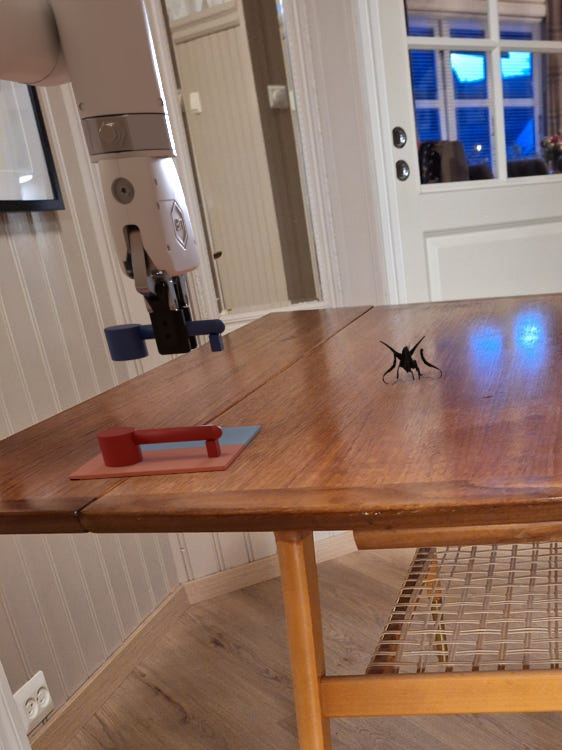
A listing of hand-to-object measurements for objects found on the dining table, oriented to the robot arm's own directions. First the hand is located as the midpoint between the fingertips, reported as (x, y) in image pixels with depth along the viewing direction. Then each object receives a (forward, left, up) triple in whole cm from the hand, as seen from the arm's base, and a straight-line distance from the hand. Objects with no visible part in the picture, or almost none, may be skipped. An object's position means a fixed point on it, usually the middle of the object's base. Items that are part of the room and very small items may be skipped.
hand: (178, 350), depth 87 cm
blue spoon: (-1, 0, 0) cm, 1 cm away
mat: (-2, -4, -9) cm, 10 cm away
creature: (+21, +25, -10) cm, 34 cm away
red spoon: (-1, -7, -9) cm, 12 cm away
